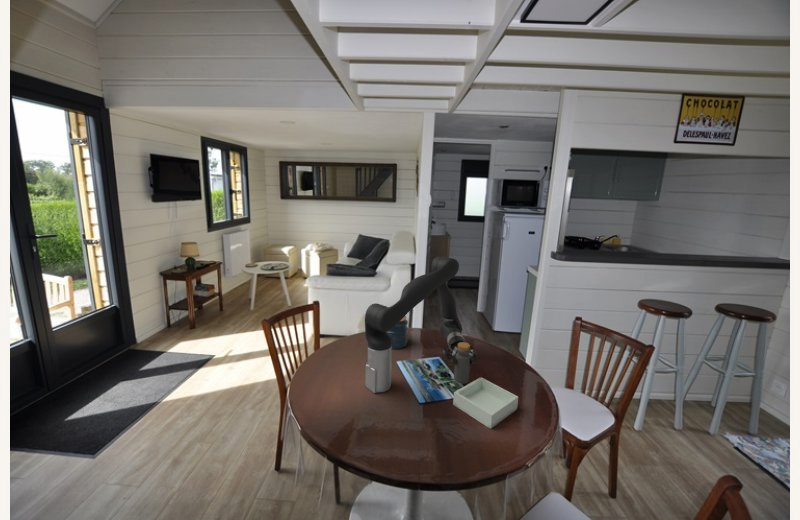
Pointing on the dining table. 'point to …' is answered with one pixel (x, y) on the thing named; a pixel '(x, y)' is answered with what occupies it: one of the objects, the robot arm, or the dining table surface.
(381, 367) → the robot arm
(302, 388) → the dining table surface
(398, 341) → the canister
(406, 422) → the dining table surface
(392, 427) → the dining table surface
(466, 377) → the bottle
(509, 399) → the bin
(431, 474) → the dining table surface
